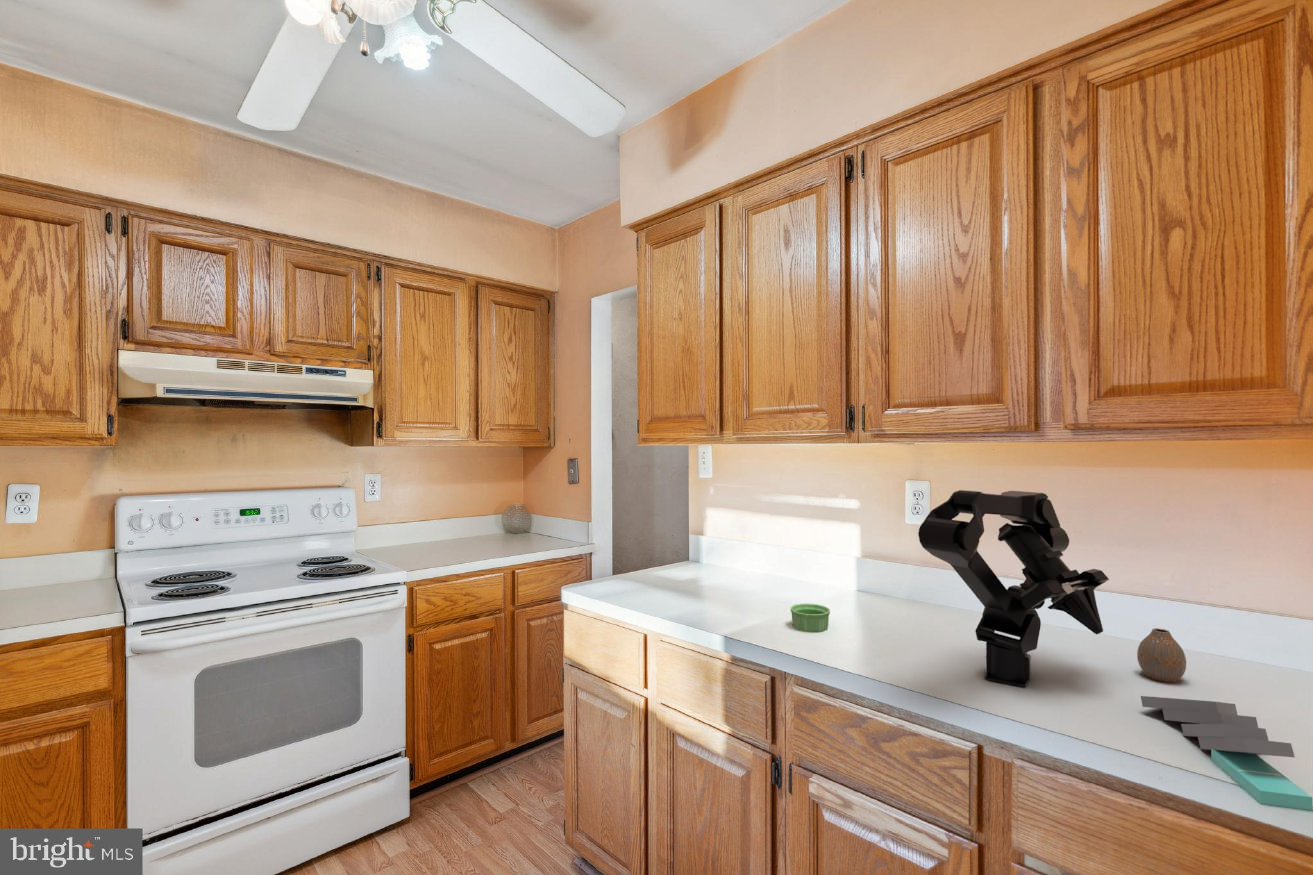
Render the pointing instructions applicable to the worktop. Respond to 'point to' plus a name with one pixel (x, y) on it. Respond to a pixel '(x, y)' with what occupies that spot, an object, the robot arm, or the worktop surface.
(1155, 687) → the worktop surface
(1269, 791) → the domino
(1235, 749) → the domino
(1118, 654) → the worktop surface
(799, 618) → the ramekin
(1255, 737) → the domino
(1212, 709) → the domino
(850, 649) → the worktop surface
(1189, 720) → the domino
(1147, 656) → the vase
